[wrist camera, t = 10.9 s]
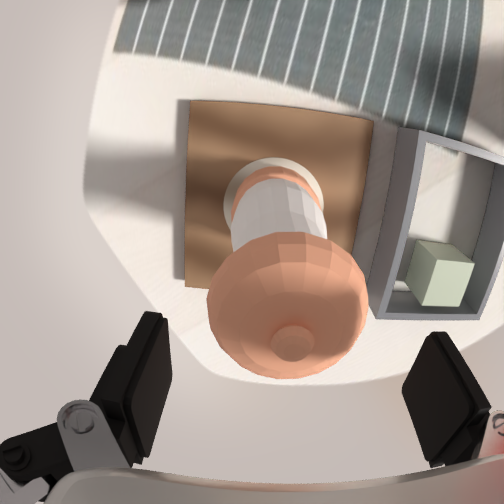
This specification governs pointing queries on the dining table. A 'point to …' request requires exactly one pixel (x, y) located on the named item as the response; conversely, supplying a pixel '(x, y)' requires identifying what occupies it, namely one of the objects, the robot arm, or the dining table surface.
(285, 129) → the serving board
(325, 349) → the pepper shaker
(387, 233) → the bin
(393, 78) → the dining table surface
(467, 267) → the sage block
